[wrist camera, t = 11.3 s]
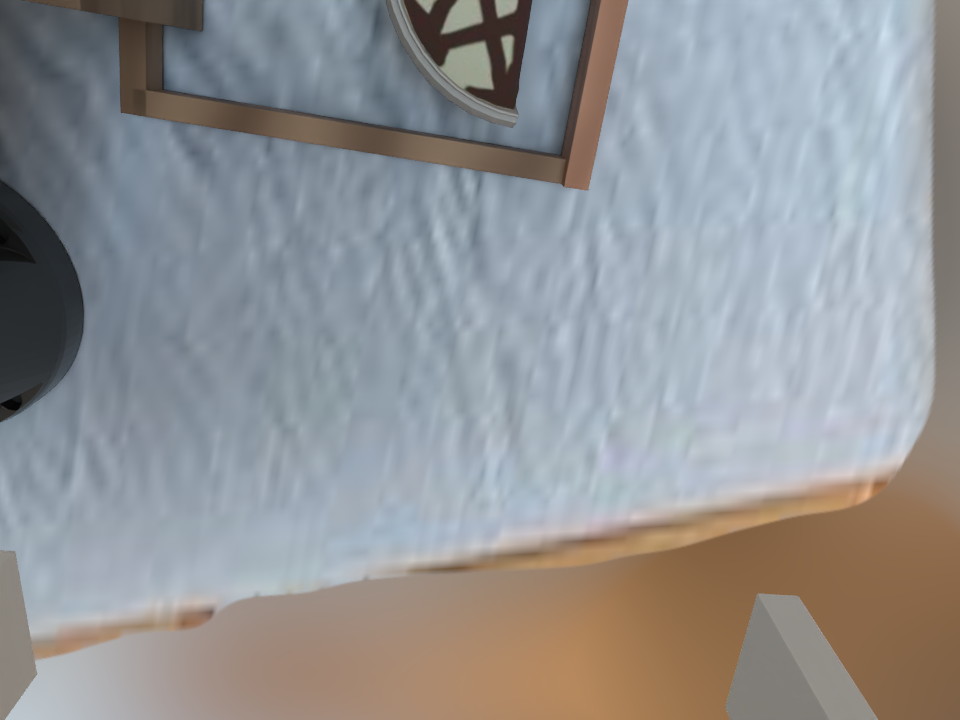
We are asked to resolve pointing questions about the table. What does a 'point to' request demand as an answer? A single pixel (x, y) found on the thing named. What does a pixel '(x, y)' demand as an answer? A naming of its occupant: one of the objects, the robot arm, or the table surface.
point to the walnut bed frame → (180, 4)
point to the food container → (467, 50)
